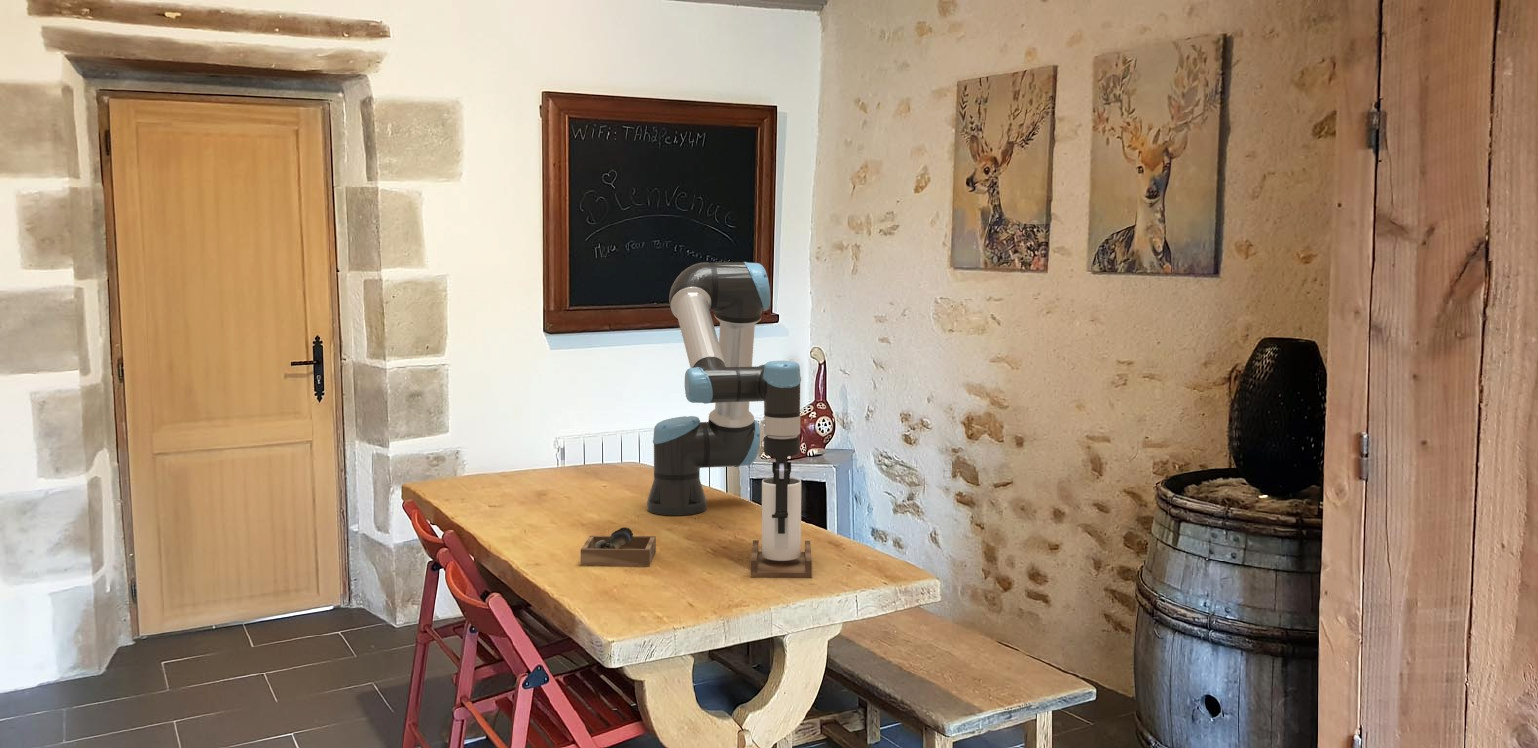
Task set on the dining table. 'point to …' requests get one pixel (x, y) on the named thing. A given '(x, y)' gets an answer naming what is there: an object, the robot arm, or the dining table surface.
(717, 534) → the dining table surface
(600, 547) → the eagle figurine
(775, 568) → the brown wooden tray
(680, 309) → the robot arm
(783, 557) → the cup
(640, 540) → the figurine frame
